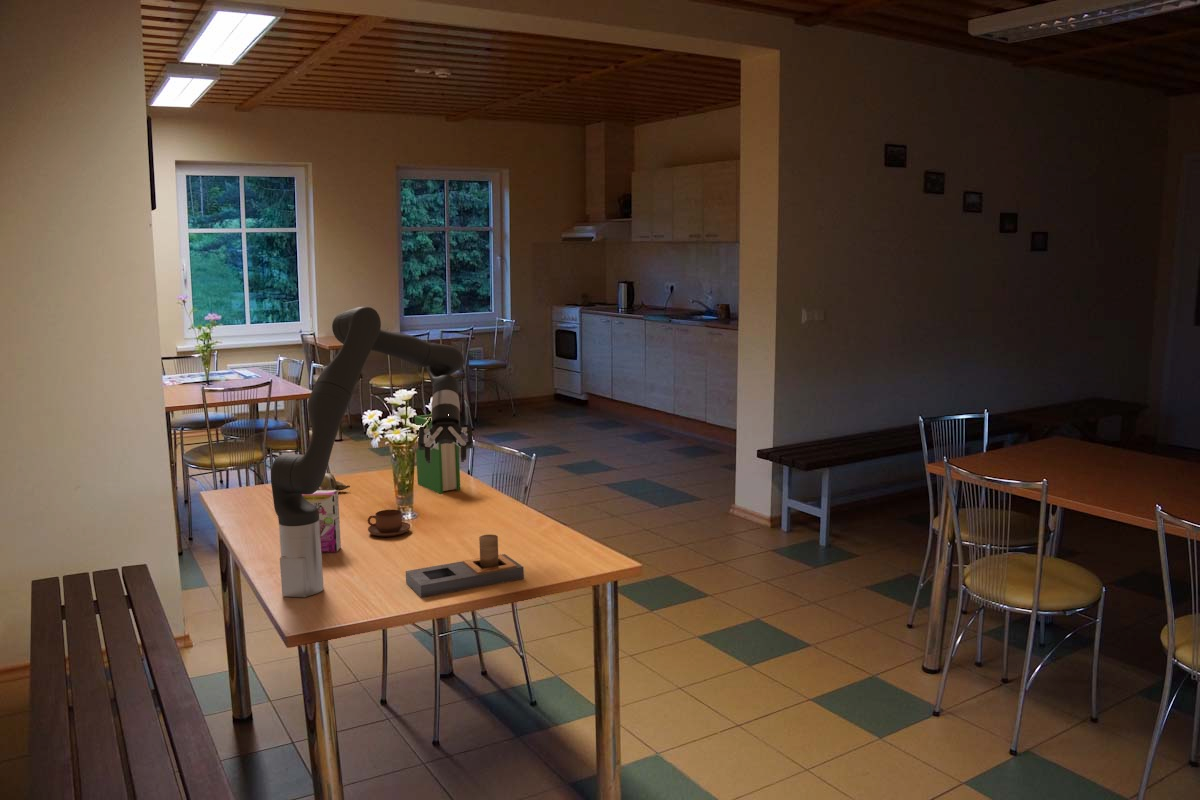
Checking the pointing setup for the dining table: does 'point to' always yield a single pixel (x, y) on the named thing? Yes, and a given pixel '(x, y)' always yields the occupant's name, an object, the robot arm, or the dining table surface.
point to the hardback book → (438, 464)
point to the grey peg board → (462, 576)
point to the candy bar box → (327, 518)
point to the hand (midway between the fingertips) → (445, 461)
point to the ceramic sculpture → (331, 483)
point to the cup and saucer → (388, 523)
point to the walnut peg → (488, 551)
